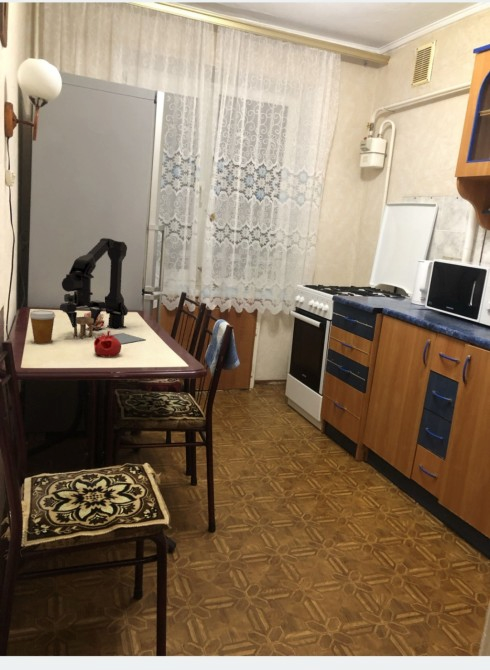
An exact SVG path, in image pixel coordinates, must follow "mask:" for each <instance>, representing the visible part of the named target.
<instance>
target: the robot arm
mask: <svg viewBox="0 0 490 670" xmlns="http://www.w3.org/2000/svg"><path fill="white" fill-rule="evenodd" d="M127 250H128V246H127V244H126V243H125V242H124V241H118V240H114V239H112V238H109V237H103V238H100V239H99V242H97V244H95V246H94V247H92V249H91V250H89V252H87V253H86V254H84V255H80V256H79V257H77V258H76V259H75V260H74V261H73V264H72V266H71V268H70V270H69V273H68V274H65V278H63V279H62V282H61V286H62V290H63V291H65V292H69V293H65V294H64V297H63V300H64V303H61V304H60V306H59V310H60V311H62V313H64V314H66V315H67V316H68V319H69V322H70V325H71V327H72V328H73V329H74V328H75V325H76V317H78V312H77V310H78V309H79V310H81V309H89V312H91V318H93V319H94V323H95V321H96V319H97V317H98V316H99V314H100V313H101V314H102V312H103V310H105V313H106V315H109V316H108V323H107V324H108V325H106V327H108V328H111V329H115V330H116V329H124V328H127V326H126V325H125V316H127V315H128V314H129V313H128V312H129V309H128V308H127V306H126V304H125V298H124V296H123V295H122V290H121V289H122V270H123V269H122V267H123V266H122V265H123V260H125V257H126V256H127ZM106 253H107V256H108V258H109V260H110V271H109V272H110V274H109V275H110V276H109V292H108V294H107V295H105V296H104V301H101V300H91V297H92V296H93V292H92V290H91V289H92V288H91V287H92V284H91V283H92V279H94V275H93V274H92V273H93V271H94V270H95V269H96V267H97V262H98V261H99V260H100V259H101V258H102V256H104V255H105V254H106ZM70 292H73V294H72V295H71V294H70ZM94 323H93V324H92V325H94Z"/></svg>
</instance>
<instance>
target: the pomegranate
mask: <svg viewBox="0 0 490 670" xmlns="http://www.w3.org/2000/svg"><path fill="white" fill-rule="evenodd" d="M110 333H111V331H110V330H107V334H105V333H101V334H99V335H98V336H97V337H98V338H97V339H96V338H95V340H94V342H93V346H94V353H95V354H96V355H98V356H99V357H100V356H101V357H105V358H106V357H107V358H108V357H116V356H118V355H119V354H120V353H121V350H122V344H121V343H120V342H119V341H118V339H116V338H114V335H112V334H110ZM106 335H107V336H106ZM109 335H111V336H109ZM99 336H100V337H99Z"/></svg>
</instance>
